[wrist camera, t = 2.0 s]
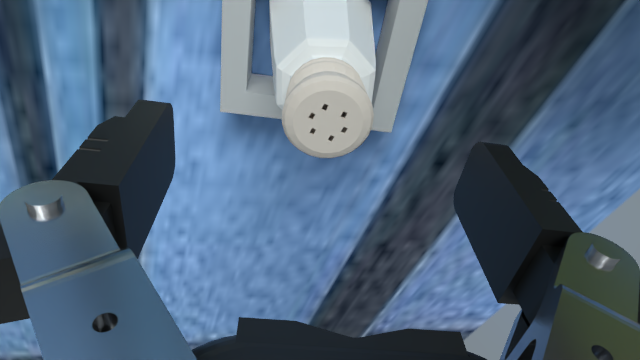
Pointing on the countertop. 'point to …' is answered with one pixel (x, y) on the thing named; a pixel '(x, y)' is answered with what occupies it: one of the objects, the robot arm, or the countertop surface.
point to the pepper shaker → (323, 72)
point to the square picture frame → (258, 90)
